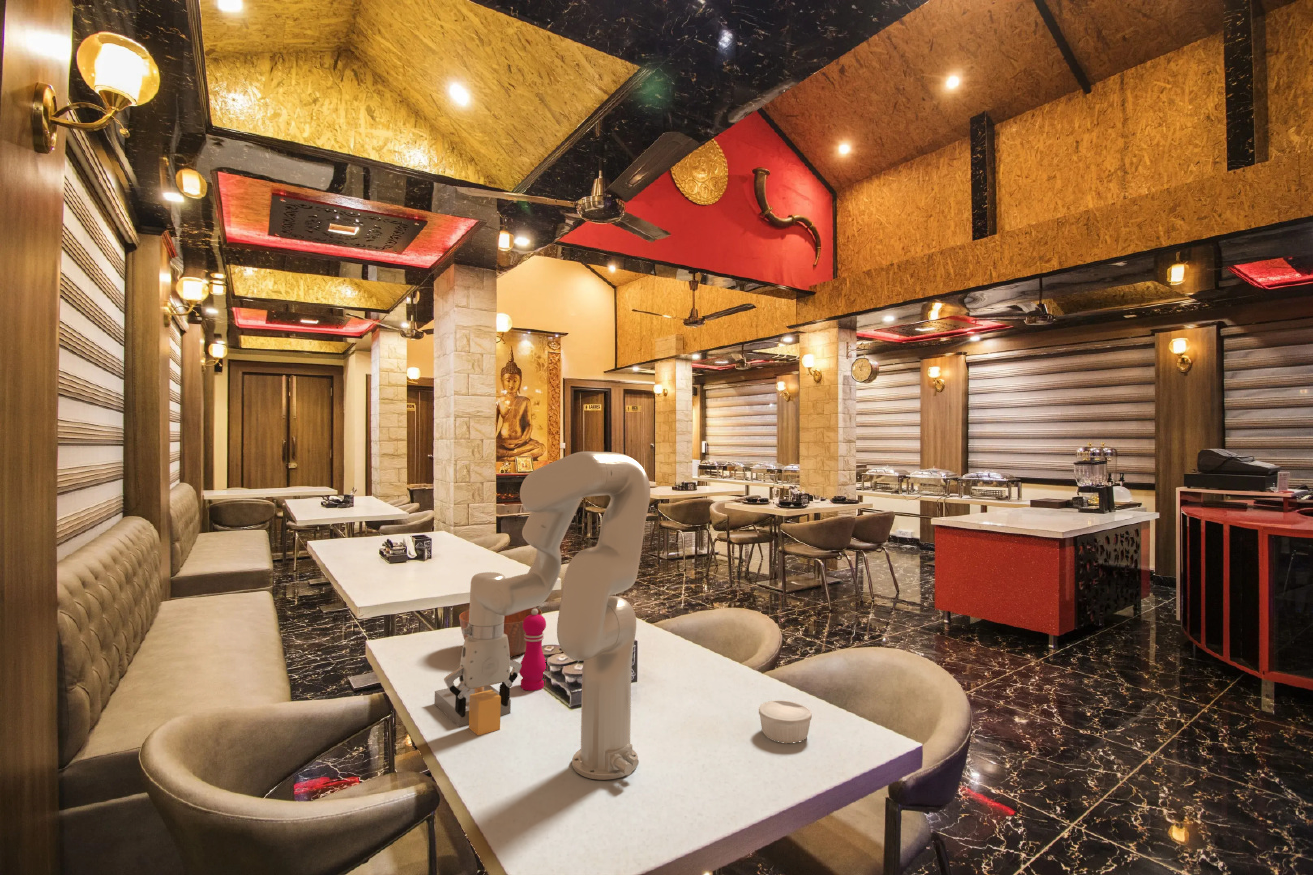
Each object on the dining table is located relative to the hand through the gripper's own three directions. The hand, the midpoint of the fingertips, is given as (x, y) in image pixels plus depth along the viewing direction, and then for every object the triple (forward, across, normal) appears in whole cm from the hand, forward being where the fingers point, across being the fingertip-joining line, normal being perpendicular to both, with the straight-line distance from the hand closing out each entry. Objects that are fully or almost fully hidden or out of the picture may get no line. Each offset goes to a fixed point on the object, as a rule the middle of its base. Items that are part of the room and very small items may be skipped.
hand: (482, 709), depth 130 cm
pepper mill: (+4, +20, +15) cm, 26 cm away
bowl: (+5, +26, +48) cm, 55 cm away
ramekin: (+3, +50, -43) cm, 66 cm away
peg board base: (+4, +2, +11) cm, 12 cm away
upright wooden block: (+4, 0, -1) cm, 4 cm away
